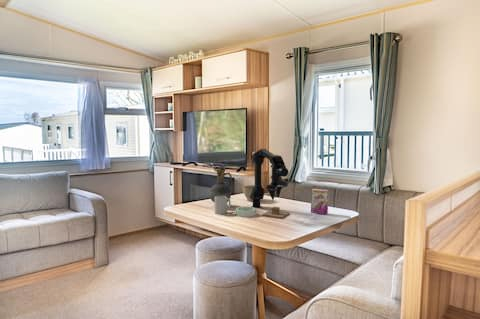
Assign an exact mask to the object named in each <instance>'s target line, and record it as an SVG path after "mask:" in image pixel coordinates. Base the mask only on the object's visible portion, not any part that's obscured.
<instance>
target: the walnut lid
mask: <svg viewBox="0 0 480 319" xmlns="http://www.w3.org/2000/svg"><path fill="white" fill-rule="evenodd" d="M280 208H281V207H280V206H273V207H271V210H270V209H269V210H267V211H266V212H264V213H262V214H261V215H262V216H265V217H264V218H269V217H272V218H271V219H276V218H280V219H279V220H283V219H282V218H284V217H285V216H287V215H288V214H290V212H287V211H280ZM287 217H288V216H287ZM284 219H285V218H284Z"/></svg>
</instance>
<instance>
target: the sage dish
mask: <svg viewBox="0 0 480 319" xmlns="http://www.w3.org/2000/svg"><path fill="white" fill-rule="evenodd" d="M235 215H236V217H243V218H250V217H255V216H257V208H254V207H252V206H239V207H238V206H237V207H236V208H235Z"/></svg>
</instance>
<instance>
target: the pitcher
mask: <svg viewBox="0 0 480 319" xmlns="http://www.w3.org/2000/svg"><path fill="white" fill-rule="evenodd" d="M226 170H227V169H226V167H225V166H223V165H219V167H218V169H216V168H215V169H214V170H213V171H214V172H216V178H217V179H216V180H217V181H216V183H215V184H213V185H212V186H211V187H210V191H209V198H210V200H211V201H212V202H213V203H214V204H215V196H226V197H227V198H229V199H230V200H231V196H232V189H231V188H230V186H231V183H232V181H233V180H232V178H233V177H232V174H231V172H229V171H228V172H226ZM227 175H229V183H228V184H226V183H225V176H227ZM227 203H229V201H227Z"/></svg>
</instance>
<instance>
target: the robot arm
mask: <svg viewBox="0 0 480 319" xmlns="http://www.w3.org/2000/svg"><path fill="white" fill-rule="evenodd" d="M265 159H267V160H269V163H270V164H271V165H270V168H271V176H270V179H271V182H270V183H269V184H267V185H266V191H268V193H269V195H270V198H271V200H275V195H276V197H277V198H279V197H280V195H281V193H282V192H281V191H282V189H283V188H286V187H288V186H289V185H290V180H289V179H288V178H285V177H287V176H289V169H288V168H287V166H286V164H285V162H284V159H283V157H282V156H281V155H279V154H274V153H272V152H271V151H269V150H268V149H266V148H260V149H259V150H257V151H255V152H254V153H252V155H251V161H252V163H253V166H254V185H255V186H254V187H253V189H252V193H251V195H250V199H252V200H253V201H252V206H251V207H254V208H255V209H260V208H262V207H263V206H262V205H261V201H262V200H264V198H265V197H264V196H265V188H264V186H262V165H263V164H264V162H265ZM283 177H284V178H283Z"/></svg>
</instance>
